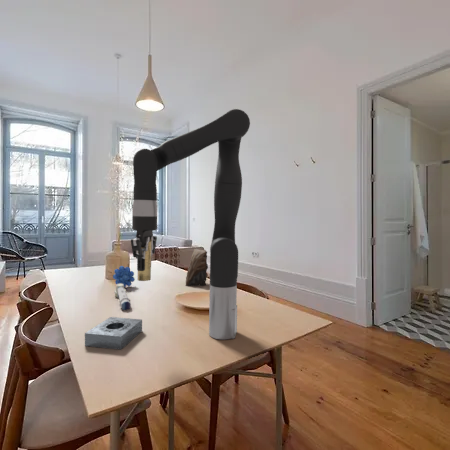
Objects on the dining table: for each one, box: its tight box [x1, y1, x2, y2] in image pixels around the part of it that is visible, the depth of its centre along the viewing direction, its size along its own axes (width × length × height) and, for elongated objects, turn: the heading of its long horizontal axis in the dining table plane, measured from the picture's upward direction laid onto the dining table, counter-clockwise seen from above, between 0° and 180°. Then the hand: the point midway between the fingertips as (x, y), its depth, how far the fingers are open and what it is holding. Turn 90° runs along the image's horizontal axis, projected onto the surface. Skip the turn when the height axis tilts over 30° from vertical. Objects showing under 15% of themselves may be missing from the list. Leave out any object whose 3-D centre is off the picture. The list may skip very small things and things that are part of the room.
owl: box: [185, 248, 209, 287], centre depth 166 cm, size 13×13×20 cm
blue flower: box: [112, 265, 135, 288], centre depth 155 cm, size 12×7×12 cm, turn 125°
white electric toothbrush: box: [113, 283, 131, 311], centre depth 131 cm, size 5×7×25 cm
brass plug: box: [137, 241, 152, 282], centre depth 90 cm, size 4×4×12 cm
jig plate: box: [84, 316, 143, 351], centre depth 93 cm, size 12×14×4 cm
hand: (144, 269), depth 90 cm, fingers closed on brass plug, 4 cm apart
